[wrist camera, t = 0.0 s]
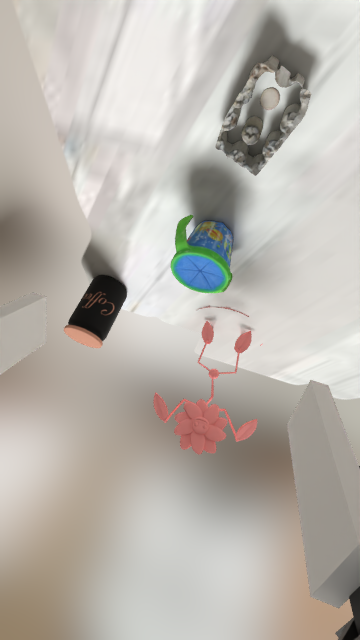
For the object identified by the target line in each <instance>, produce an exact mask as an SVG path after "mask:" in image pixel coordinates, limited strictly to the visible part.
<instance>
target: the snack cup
mask: <svg viewBox="0 0 360 640" xmlns="http://www.w3.org/2000/svg"><path fill="white" fill-rule="evenodd" d="M192 218H193V215H190V216H187V217H185V218H183V219H182V220H180V221H179V223H178V226H177V230H176V237H175V245H176V252H177V253H176V254H175V255H174V257H173V259H172V262H171V270H172V273H173V275H174V276H175V278H176V279H177V280H178V281H179V282H180V283H181V284H183V285H184V286H186V287H188V288H189V289H192V290H194V291H198V292H202V293H220V292H224V291H225V290H226V289H227V287H228V286H229V284H230V282H231V280H232V273H231V272H230V268H229V267H230V261H231V254H232V245H233V237H232V233H231V231H230V230H229V229H228V228H227V227H226V226H225V225H224V224H223V223H219V222H216V221H203V222H201V223H200V224H199V225H198V226H197V227H196V228H195V229H194V231H193V232H192V233H191V235H190V236H189V238H188V239H186V226H187V225H188V223H189V222H190V220H191V219H192Z"/></svg>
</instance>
